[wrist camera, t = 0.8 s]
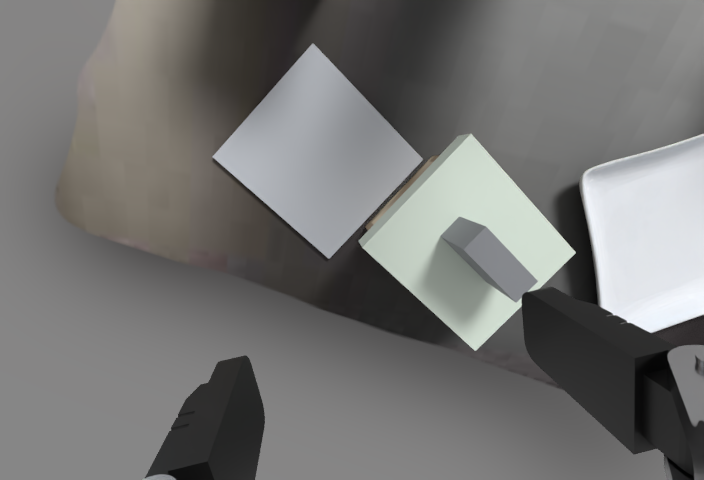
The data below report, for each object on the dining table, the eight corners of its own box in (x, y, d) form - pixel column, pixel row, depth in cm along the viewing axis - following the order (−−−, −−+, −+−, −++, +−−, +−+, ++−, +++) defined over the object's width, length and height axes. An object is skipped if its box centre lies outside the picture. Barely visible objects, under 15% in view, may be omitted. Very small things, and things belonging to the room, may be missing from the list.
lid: (458, 135, 30) (501, 128, 23) (557, 246, 33) (620, 268, 26) (358, 241, 31) (371, 263, 24) (463, 338, 34) (501, 381, 27)
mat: (312, 44, 33) (312, 42, 32) (422, 159, 36) (423, 159, 36) (213, 156, 34) (212, 156, 33) (328, 258, 37) (328, 259, 37)
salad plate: (585, 337, 44) (608, 352, 40) (559, 171, 39) (582, 172, 35) (740, 282, 45) (774, 292, 41) (734, 112, 40) (773, 108, 36)
